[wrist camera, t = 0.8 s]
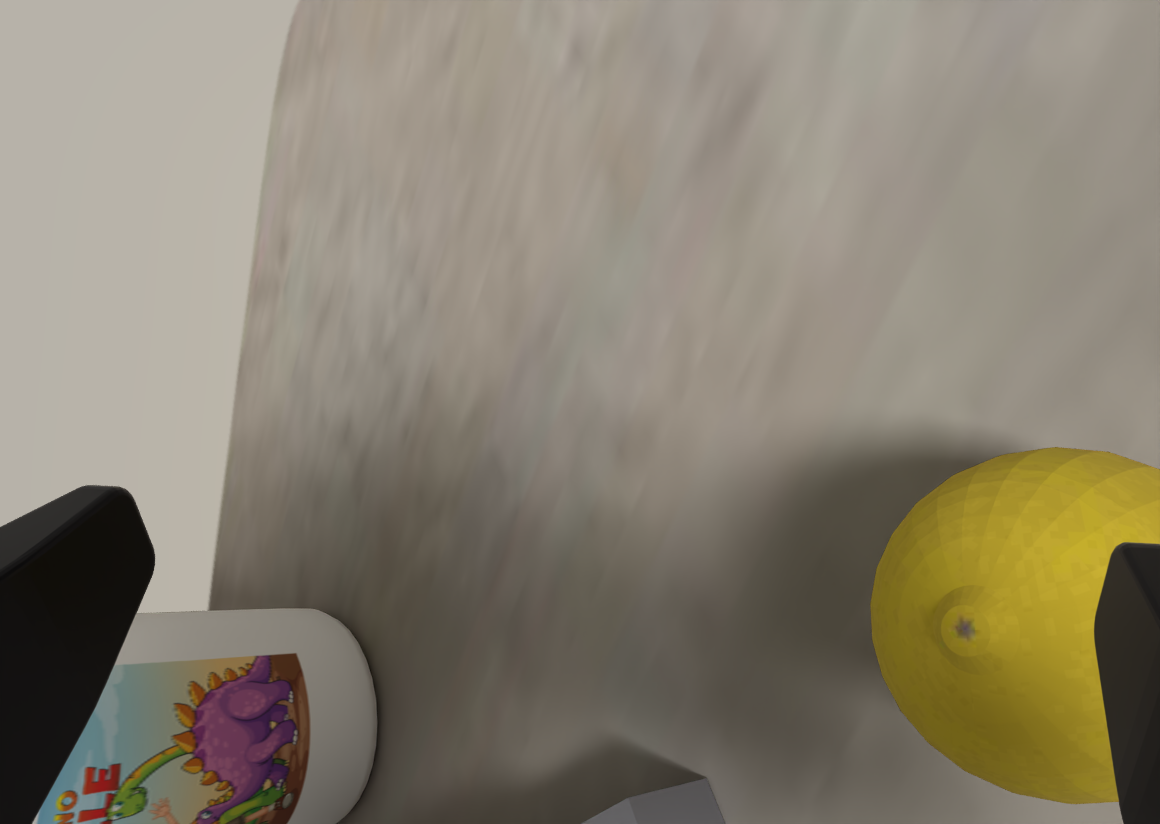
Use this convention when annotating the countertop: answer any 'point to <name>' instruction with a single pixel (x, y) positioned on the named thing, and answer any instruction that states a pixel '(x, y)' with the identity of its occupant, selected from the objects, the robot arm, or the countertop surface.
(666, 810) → the base
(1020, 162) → the countertop surface
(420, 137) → the countertop surface
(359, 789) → the milk bottle
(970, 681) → the lemon
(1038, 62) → the countertop surface
